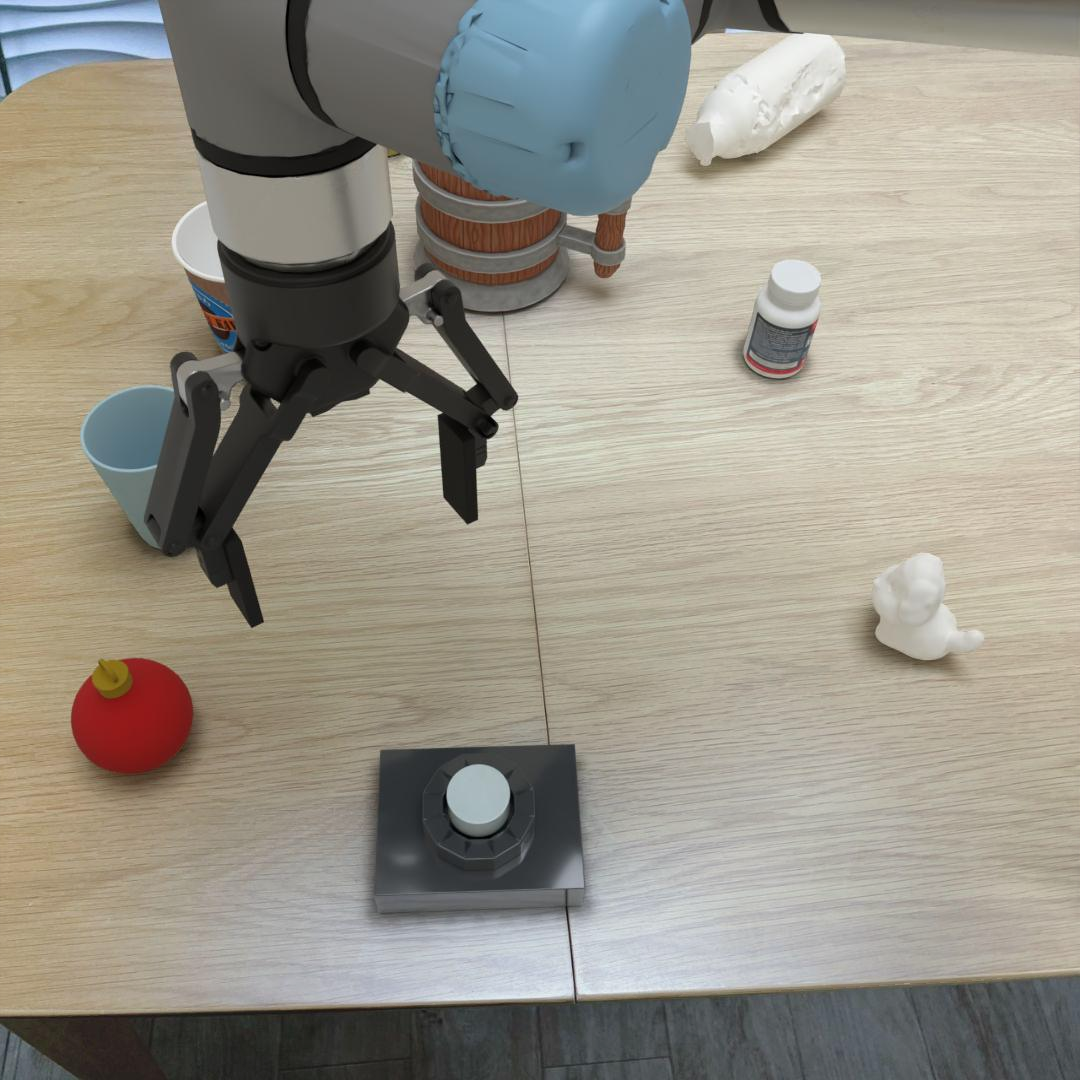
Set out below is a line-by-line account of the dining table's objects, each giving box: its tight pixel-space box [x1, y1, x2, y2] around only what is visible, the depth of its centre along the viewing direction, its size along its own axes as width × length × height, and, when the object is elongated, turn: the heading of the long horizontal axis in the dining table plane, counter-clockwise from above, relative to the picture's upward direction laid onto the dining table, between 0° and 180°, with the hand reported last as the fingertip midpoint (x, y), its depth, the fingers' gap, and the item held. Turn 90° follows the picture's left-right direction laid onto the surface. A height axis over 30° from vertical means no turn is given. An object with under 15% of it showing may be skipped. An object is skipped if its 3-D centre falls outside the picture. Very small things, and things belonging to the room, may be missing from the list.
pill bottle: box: [742, 259, 822, 379], centre depth 89 cm, size 5×5×9 cm
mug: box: [411, 158, 633, 313], centre depth 92 cm, size 14×19×15 cm
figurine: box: [871, 551, 985, 661], centre depth 74 cm, size 5×8×8 cm
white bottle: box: [684, 33, 848, 167], centre depth 108 cm, size 8×19×8 cm, turn 136°
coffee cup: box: [171, 200, 236, 355], centre depth 86 cm, size 10×10×12 cm
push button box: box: [373, 743, 586, 914], centre depth 65 cm, size 12×9×5 cm
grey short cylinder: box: [447, 764, 510, 837], centre depth 63 cm, size 4×4×2 cm
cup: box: [79, 384, 175, 550], centre depth 76 cm, size 8×8×10 cm
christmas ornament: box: [70, 657, 194, 775], centre depth 66 cm, size 7×7×10 cm
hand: (358, 557), depth 62 cm, fingers open, 13 cm apart
